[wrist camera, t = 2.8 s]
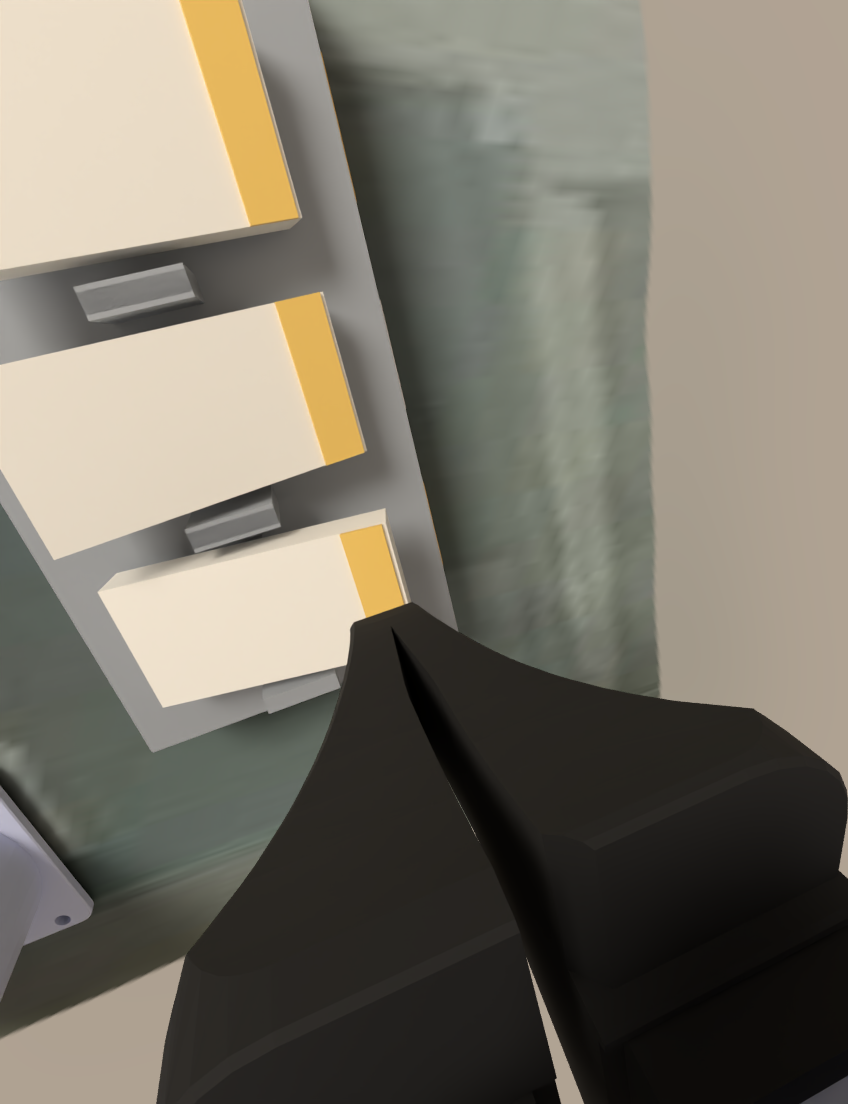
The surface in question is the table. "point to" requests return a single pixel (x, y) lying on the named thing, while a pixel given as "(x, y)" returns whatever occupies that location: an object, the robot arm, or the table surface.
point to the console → (218, 288)
